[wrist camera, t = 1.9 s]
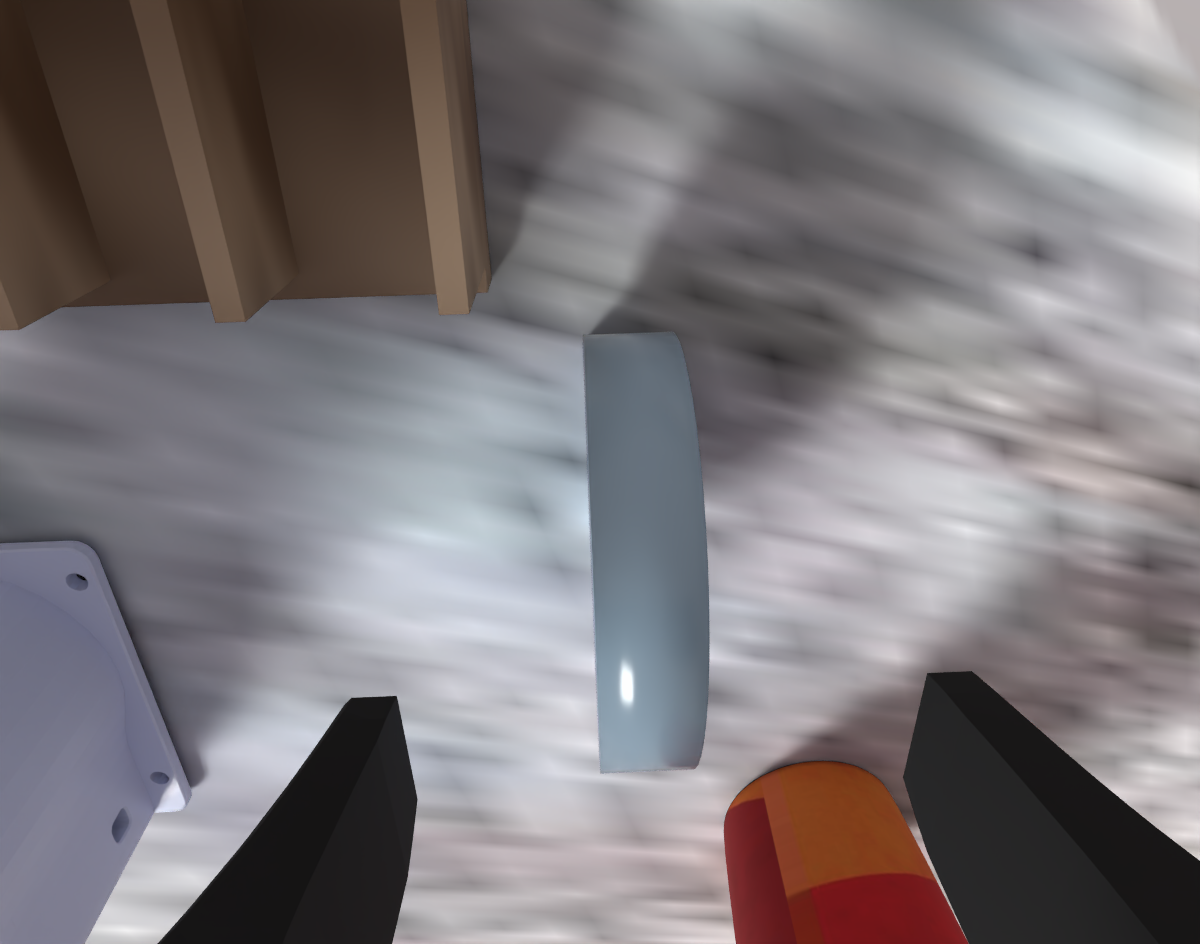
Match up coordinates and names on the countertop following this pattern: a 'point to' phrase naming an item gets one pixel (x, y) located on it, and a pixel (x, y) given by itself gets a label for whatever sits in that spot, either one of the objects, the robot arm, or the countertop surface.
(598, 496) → the grey rounded disc
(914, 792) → the robot arm
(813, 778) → the paper cup
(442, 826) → the countertop surface
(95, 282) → the rack
